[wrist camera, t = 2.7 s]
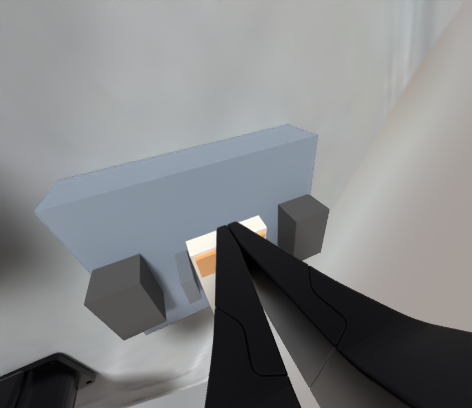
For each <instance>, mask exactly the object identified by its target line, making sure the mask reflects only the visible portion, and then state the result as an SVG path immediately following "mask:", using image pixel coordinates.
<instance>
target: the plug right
mask: <svg viewBox="0 0 472 408" xmlns="http://www.w3.org/2000/svg"><path fill="white" fill-rule="evenodd" d="M329 210H330V209H329V208H327V207H326V206H324V205H323V204H322V203H320V202H319V201H317V200H316V199H315V198H313V197H312V196H311V195H309V194H306V195H303V196H301V197H298V198H295V199H292V200H289V201H286V202H284V203H281V204H278V239H277V246H278V247H280V248H282V249H283V250H285V251H287V252H288V253H290V254H292V255H293V256H295V257H296V258H298V259H300V260H301V261H302V260H304V259H307V258H309V257H311V256H313V255H316V254H318V253H320V252H321V248H322V243H323V238H324V233H325V229H326V224H327V219H328V214H329Z"/></svg>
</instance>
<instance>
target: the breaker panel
mask: <svg viewBox="0 0 472 408" xmlns="http://www.w3.org/2000/svg"><path fill="white" fill-rule="evenodd" d="M317 139H318V135H317V134H314V133H311V132H308V131H305V130H303V129H300V128H297V127H294V126H291V125H283V126H279V127H275V128H271V129H267V130H263V131H259V132H255V133H251V134H247V135H243V136H238V137H234V138H230V139H226V140H222V141H218V142H214V143H210V144H206V145H202V146H197V147H193V148H189V149H185V150H181V151H177V152H173V153H169V154H165V155H161V156H156V157H152V158H148V159H144V160H140V161H136V162H132V163H128V164H124V165H120V166H116V167H111V168H107V169H103V170H99V171H95V172H91V173H87V174H83V175H79V176H75V177H70V178H66V179H62V180H58V181H57V182H56V183H55V185H54V186H53V187H52V188H51V190H50V191H49V192H48V194H47V195H46V196H45V198H44V199H43V200H42V201H41V203H40V204H39V205H38V207H37V208H36V209H35V210H34V213H35V214H36V215H37V217H38V218H39V219H40V220H41V221H42V222H43V223H44V224H45V225H46V226H47V227H48V229H49V230H50V231H51V232H52V233H53V234H54V235H55V236H56V237H57V238H58V239H59V241H60V242H61V243H62V244H63V245H64V246H65V247H66V248H67V249H68V250H69V251H70V253H71V254H72V255H73V256H74V257H75V258H76V259H77V260H78V261H79V262H80V263H81V265H82V266H83V267H84V268H85V269H86V270H87V271H88V272H89V273H90V274H92V270H94V269H97V268H100V267H103V266H106V265H109V264H111V263H114V262H117V261H120V260H123V259H126V258H128V257H131V256H134V255H137V254H141V256H142V258H143V259H144V261H145V263H146V264H147V266H148V268H149V269H150V271H151V273H152V274H153V276H154V277H155V279H156V281H157V282H158V284H159V286H160V287H161V289H162V291H163V292H164V301H165V310H166V320H167V321H166V322H164V323H162V324H160V325H157V326H155V327H153V328H151V329H149V330H146V331H144V333H145V334H146V335H148V334H150V333H152V332H154V331H157V330H159V329H161V328H163V327H165V326H168V325H170V324H172V323H174V322H176V321H179V320H181V319H183V318H185V317H187V316H190V315H192V314H194V313H196V312H198V311H201V310H203V309H205V308H207V307H209V306H210V304H209V301H208V299H207V297H206V294H205V292H204V289H203V287H202V285H201V282H200V280H199V277H198V275H197V273H196V270H195V268H194V265H193V263H192V261H191V258H190V255H189V252H188V248H187V245H186V241H188V240H191V239H194V238H197V237H200V236H202V235H205V234H208V233H211V232H213V231H216V229H217V228H218V227H220V226H223V225H226V226H227V224H229V223H231V222H234V221H237V222H241V221H244V220H247V219H250V218H252V217H255V216H258V215H259V217H260V218H261V220H262V221H263V222H264V224H265V225H266V227H267V232H266V239H267V240H268V241H270V242H272V243H273V244H275V245H277V239H278V204H281V203H284V202H286V201H289V200H292V199H295V198H298V197H301V196H303V195H306V194H309V195H310V193H311V186H312V178H313V170H314V163H315V155H316V147H317Z"/></svg>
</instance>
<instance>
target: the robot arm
mask: <svg viewBox="0 0 472 408" xmlns="http://www.w3.org/2000/svg"><path fill="white" fill-rule="evenodd" d="M263 308H264V310H265V312H266V314H267V315H268V317H269V319H270V321H271V322H272V324H273V326H274V327H275V329H276V331H277V333H278V335H279V336H280V338H281V340H282V341H283V343H284V345H285V347H286V348H287V350H288V352H289V354H290V355H291V357H292V359H293V361H294V362H295V364H296V365H297V368H298V369H299V371H300V373H301V374H302V376H303V378H304V380H305V381H306V383H307V385H308V387H310V390H311V392H312V394H313V396H314V397H315V399H316V401H317V402H318V404H319V406H320V408H472V332H468V331H463V330H458V329H453V328H448V327H443V326H439V325H434V324H430V323H427V322H423V321H420V320H417V319H414V318H411V317H409V316H407V315H404V314H402V313H400V312H398V311H396V310H393V309H391V308H389V307H387V306H385V305H383V304H381V303H379V302H377V301H375V300H373V299H371V298H369V297H367V296H365V295H363V294H361V293H359V292H357V291H355V290H353V289H351V288H349V287H347V286H345V285H343V284H341V283H339V282H337V281H335V280H334V279H332V278H330V277H328V276H327V275H325V274H323V273H321V272H319V271H318V270H316V269H315V268H313V267H311V266H308V264H306V263H304V262H303V261H301V260H300V259H298V258H296V257H295V256H293V255H292V254H290V253H288V252H287V251H285V250H283V249H282V248H280V247H278V246H277V245H275V244H273V243H272V242H270V241H268V240H267V239H265V238H264V237H262V236H260V235H259V234H257V233H255V232H254V231H252V230H250V229H249V228H247V227H245V226H244V225H242V224H240V223H239V222H237V221H234V222H231V223H229V224H227V226H226V225H223V226H220V227H218V228H217V229H216V270H215V310H214V335H213V347H212V356H211V365H210V372H209V379H208V386H207V394H206V401H205V408H301V406H300V404H299V401H298V399H297V397H296V394H295V392H294V389H293V387H292V384H291V381H290V379H289V377H288V374H287V371H286V369H285V366H284V363H283V360H282V358H281V355H280V352H279V350H278V347H277V344H276V342H275V339H274V336H273V334H272V331H271V329H270V326H269V323H268V321H267V318H266V316H265V313H264V310H263ZM95 378H96V375H95V374H93V373H91V372H89V371H88V370H86V369H84V368H82V367H80V366H79V365H77V364H75V363H73V362H71V361H70V360H68V359H66V358H64V357H63V356H61V355H52V356H49V357H47V358H44V359H42V360H40V361H37V362H35V363H33V364H30V365H28V366H26V367H23V368H21V369H19V370H16V371H14V372H12V373H9V374H7V375H5V376H2V377H0V408H74V406H75V401H76V396H77V391H78V390H79V389H81V388H84V387H86V386H88V385H90V384H92V383H94V382H95Z"/></svg>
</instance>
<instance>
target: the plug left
mask: <svg viewBox="0 0 472 408" xmlns="http://www.w3.org/2000/svg"><path fill="white" fill-rule="evenodd" d="M84 305H85V306H86V307H87V308H88V309H89V310H90V311H91V312H92V313H94V314H95V315H96V316H97V317H98V318H99V319H100V320H101V321H103V322H104V323H105V324H106V325H107V326H108V327H109V328H110V329H112V330H113V331H114V332H115V333H116V334H117V335H118V336H119V337H120V338H122V339H123V340H126V339H128V338H131V337H133V336H135V335H137V334H140V333H142V332H144V331H146V330H149V329H151V328H153V327H155V326H157V325H160V324H162V323H164V322H166V321H167V320H166V310H165V301H164V292H163V291H162V289H161V287H160V286H159V284H158V282H157V281H156V279H155V277H154V276H153V274H152V273H151V271H150V269H149V268H148V266H147V264H146V263H145V261H144V259H143V258H142V256H141V254H137V255H134V256H131V257H128V258H126V259H123V260H120V261H117V262H114V263H111V264H109V265H106V266H103V267H100V268H97V269H94V270H92V274H91V278H90V282H89V286H88V290H87V294H86V298H85V303H84Z"/></svg>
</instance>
